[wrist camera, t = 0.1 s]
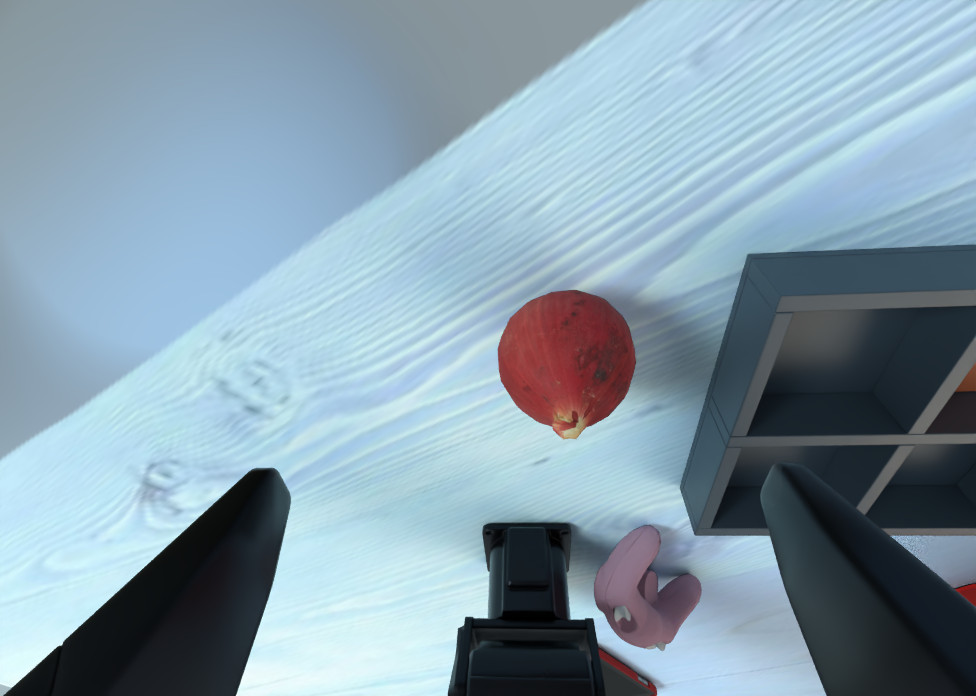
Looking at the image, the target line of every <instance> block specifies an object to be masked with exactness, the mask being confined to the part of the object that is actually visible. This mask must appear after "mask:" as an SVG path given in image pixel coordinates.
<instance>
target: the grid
mask: <svg viewBox="0 0 976 696" xmlns="http://www.w3.org/2000/svg"><path fill="white" fill-rule="evenodd" d="M778 462H797V463H801V464H803V465H805V466H806V467H807V468H809V469H810V470H811V471H812V472H813V473H815V474H816V475H817V476H818V477H819V478H821V479H822V480H823V481H824V482H825V483H827V484H828V485H829V486H830V487H832V488H833V489H834V490H835V491H836V492H838V493H839V494H840V495H841V496H842V497H844V498H845V499H846V500H847V501H848V502H850V503H851V504H852V505H853V506H855V507H856V508H857V509H858V510H859V511H861V512H862V513H863V514H864V515H865V516H867V517H868V518H869V519H870V520H871V521H873V522H874V523H875V524H876V525H877V526H879V527H880V528H881V529H882V530H884V531H885V532H886V533H887V534H888V535H976V245H956V246H932V247H908V248H883V249H859V250H835V251H811V252H787V253H762V254H748V256H747V259H746V262H745V266H744V269H743V273H742V276H741V280H740V283H739V286H738V290H737V293H736V297H735V300H734V304H733V307H732V310H731V314H730V317H729V321H728V324H727V328H726V331H725V334H724V338H723V341H722V345H721V348H720V352H719V355H718V358H717V362H716V365H715V369H714V372H713V376H712V379H711V382H710V386H709V389H708V393H707V396H706V400H705V403H704V406H703V410H702V413H701V417H700V420H699V424H698V427H697V430H696V434H695V437H694V441H693V444H692V448H691V451H690V454H689V458H688V461H687V465H686V468H685V472H684V475H683V478H682V482H681V485H680V490H681V493H682V496H683V500H684V503H685V506H686V509H687V512H688V516H689V519H690V522H691V525H692V528H693V531H694V535H695V536H770V533H769V530H768V526H767V522H766V519H765V515H764V511H763V508H762V504H761V489H762V487H763V485H764V483H765V480H766V478H767V476H768V474H769V472H770V470H771V467H772V466H773V465H774V464H775V463H778Z"/></svg>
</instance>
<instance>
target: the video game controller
mask: <svg viewBox="0 0 976 696" xmlns="http://www.w3.org/2000/svg"><path fill="white" fill-rule="evenodd" d="M660 545H661V537H660V534H659V532H658V530H657V529H656V528H654V527H652V526H647V525H646V526H643V527H639V528H637V529H635V530H633V531H631V532H630V533H629V534H628V535H626V536H625V537H624V538H623V539H622V540H621V541H620V542H619V543H618V544H617V546H616V547H615V548H614V550H613V551H612V553H611V554H610V556H609V558H608V559H607V561H606V563H604V564H603V565H602V566H601V567H600V568H599V570H598V572H597V575H596V579H595V583H594V597H595V601H596V605H597V607H598V609H599V610H600V611H602V612H603V613H604V614H605V616H606V618H607V621H608V623H609V624H610V626H611V628H612V629H613V630H614V632H615V633H616V634H617V635H618V636H619V637H620V638H621V639H622V640H624V641H625V642H627V643H629V644H631V645H634V646H637V647H641V648H647V649H654V648H655V647H658V648H659V649H660V650H661V651H664V650H665V645H666V644H669V643H670V642H671V641H672V640H673V639H674V637H675V635H676V633H677V631H678V630H679V628H680V626H681V625H682V623H683V622H684V620H685V619H686V618H687V617H688V615H689V614H690V613H691V612H692V611H693V609H694V608H695V606H696V605H697V603H698V602H699V599H700V596H701V590H702V589H701V583H700V581H699V580H698V579H697V578H696V577H695V576H693V575H691V574H685V575H681V576H679V577H677V578H675V579H674V580H672V581H671V582H669V583H668V584H667V585H666V586H665V587H663V588H662V589H661V590H660V591H659V592H658V578H657V575H656V573H655V572H654V571H650V570H647V568H648V567H649V565H650V564H651V563H652V561H653V560H654V558H655V557H656V555H657V554H658V551H659V548H660Z"/></svg>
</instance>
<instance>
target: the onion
mask: <svg viewBox="0 0 976 696" xmlns="http://www.w3.org/2000/svg"><path fill="white" fill-rule="evenodd" d="M498 362H499V373H500V377H501V382H502V383H503V385H504V387H505V388H506V390H507V392H508V393H509V395H510V396H511V398H512V399H513V401H514V402H515V404H516V405H517V406H518V407H519V408H520V409H521V410H522V411H523V412H525V413H526V414H527V415H529V416H530V417H532V418H533V419H534V420H536V421H538V422H539V423H542V424H545V425H549V426H552V427H553V430H554V431H555V432H556V433H557V434H558V435H559V436H560V437H561V438H562V439H568V438H571V439H576V438H577V437H578V436H579V435H580V434H581V432H582V431H583V430H584V429H585V428H586V427H588V426H591V425H593V424H595V423H597V422H599V421H601V420H603V419H604V418H606V417H608V416H609V415H610V414H611V413H612V412H613V411H614V409H615V408H616V407H617V406H618V405H619V404H620V403H621V401H622V400H623V399H624V398H625V396H626V394H627V392H628V390H629V387H630V383H631V380H632V376H633V373H634V369H635V364H636V358H635V349H634V345H633V341H632V337H631V333H630V330H629V327H628V325H627V323H626V321H625V320H624V318H623V316H622V315H621V314H620V313H619V312H618V311H617V310H615V309H614V308H613V307H612V306H611V305H610V304H609V303H608V302H607V301H606V300H605V299H603V298H600V297H598V296H595V295H591V294H588V293H584V292H581V291H577V290H568V291H558V292H551V293H549V294H546V295H543V296H541V297H538V298H536V299H533V300H531V301H530V302H528V303H527V304H525V305H524V306H523V307H522V308H521V309H520V310H519V311H518V312H516V313H515V314H514V315H513V316H512V317H511V318H510V320H509V322H508V324H507V326H506V328H505V330H504V332H503V335H502V337H501V340H500V343H499V347H498Z"/></svg>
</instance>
